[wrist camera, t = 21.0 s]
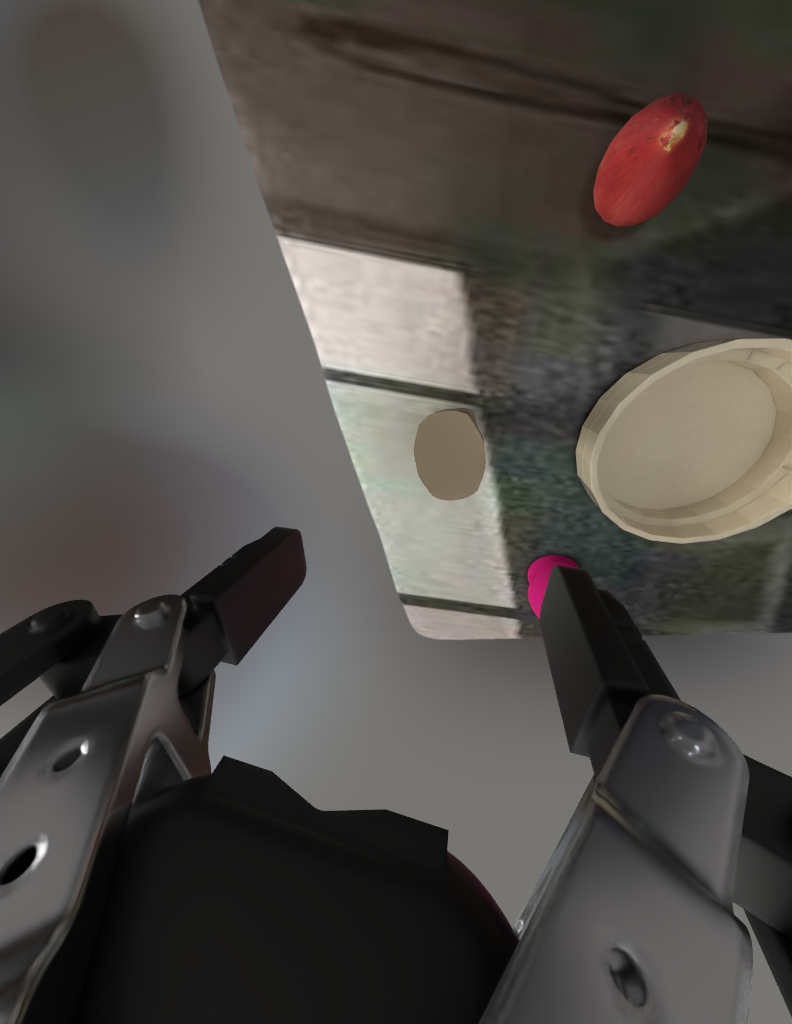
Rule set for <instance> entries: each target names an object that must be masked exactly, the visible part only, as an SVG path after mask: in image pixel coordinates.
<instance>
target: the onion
mask: <svg viewBox="0 0 792 1024" xmlns="http://www.w3.org/2000/svg"><path fill="white" fill-rule="evenodd" d="M707 121H708V117H707V115H706V113H705V111H704V109H703V107H702V105H701V103H700V101H699V100H698V99H696V98H693V97H691V96H688V95H686V94H684V93H681V92H680V93H677V94H673V95H670V96H666V97H663V98H659V99H657V100H655V101H653V102H652V103H651V104H649V105H648V106H646V107H645V108H644V109H642V110H641V111H639V112H638V113H636V114H635V115H634V116H632V117H631V118H630V119H629V121H628V122H627V123H626V124H625V125H624V127H623V128H622V129H621V130H620V131H619V133H618V134H617V135H616V136H615V137H614V139H613V140H612V142H611V143H610V145H609V147H608V149H607V151H606V153H605V155H604V157H603V159H602V161H601V163H600V165H599V168H598V172H597V176H596V181H595V186H594V190H593V194H594V202H595V209H596V210H597V212H598V213H599V215H600V216H601V218H602V219H603V220H604V221H605V222H607V223H610V224H612V225H614V226H616V227H620V226H633V225H636V224H638V223H640V222H643V221H645V220H647V219H649V218H651V217H654V216H656V215H657V214H658V213H659V212H660V211H662V210H663V209H664V208H665V207H666V206H667V205H668V204H669V203H670V202H671V201H672V200H673V199H674V198H675V197H676V196H677V195H678V194H679V193H680V192H681V191H682V189H683V187H684V186H685V184H686V183H687V181H688V180H689V178H690V177H691V175H692V174H693V172H694V171H695V169H696V167H697V165H698V163H699V160H700V157H701V155H702V152H703V149H704V146H705V143H706V139H707Z"/></svg>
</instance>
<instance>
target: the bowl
mask: <svg viewBox="0 0 792 1024" xmlns="http://www.w3.org/2000/svg"><path fill="white" fill-rule="evenodd" d="M576 462H577V474H578V477H579V479H580V480H581V482H582V484H583V486H584V488H585V490H586V492H587V494H588V495H589V496H590V498H591V499H592V500H593V501H594V502H595V504H596V505H597V506H598V507H599V508H600V510H601V511H602V512H603V513H604V514H605V515H606V516H608V517H609V518H610V519H611V520H612V521H613V522H615V523H616V524H617V525H618V526H619V527H620V528H622V529H623V530H626V531H628V532H631V533H633V534H636V535H638V536H641V537H643V538H646V539H648V540H654V541H663V542H672V543H681V544H682V543H693V542H702V541H711V540H718V539H722V538H725V537H729V536H732V535H735V534H738V533H741V532H744V531H748V530H751V529H754V528H756V527H759V526H761V525H762V524H764V523H766V522H768V521H770V520H772V519H773V518H775V517H777V516H779V515H781V514H783V513H784V512H786V511H788V510H790V509H792V340H790V339H786V338H761V339H733V340H723V341H712V342H702V343H696V344H693V345H689V346H686V347H682V348H679V349H675V350H672V351H668V352H665V353H662V354H659V355H658V356H656V357H654V358H652V359H651V360H649V361H647V362H645V363H643V364H642V365H640V366H638V367H636V368H635V369H633V370H631V371H629V372H628V373H627V374H625V375H624V376H623V377H622V378H621V379H620V380H619V381H617V382H616V383H615V384H614V385H613V386H612V387H611V388H610V389H609V390H608V391H607V392H606V393H605V394H604V395H602V396H601V397H600V399H599V400H598V402H597V403H596V405H595V406H594V408H593V410H592V411H591V413H590V414H589V416H588V417H587V419H586V421H585V422H584V424H583V426H582V429H581V433H580V437H579V440H578V444H577V448H576Z"/></svg>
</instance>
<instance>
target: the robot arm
mask: <svg viewBox="0 0 792 1024" xmlns="http://www.w3.org/2000/svg"><path fill="white" fill-rule="evenodd" d="M305 576H306V561H305V555H304V548H303V542H302V537H301V533H300V531H299V530H297V529H290V528H282V527H275V528H273V529H272V530H270V531H269V532H268V533H267V534H265V535H264V536H263V537H262V538H260V539H258V540H256V541H254V542H252V543H250V544H248V545H245V546H244V547H242V548H241V549H240V550H239V551H237V552H236V553H235V554H233V555H232V558H228V559H227V560H226V561H224V562H223V563H222V565H221V566H220V565H219V566H218V567H217V568H215V569H214V570H213V571H212V572H210V573H209V574H208V575H206V576H205V577H204V578H202V579H201V580H200V581H199V582H197V583H196V584H195V585H194V586H192V587H191V588H190V589H188V590H187V591H186V592H184V593H183V594H182V595H181V596H179V595H162V596H158V597H155V598H151V599H148V600H146V601H144V602H142V603H140V604H138V605H136V606H134V607H133V608H131V609H130V610H128V611H127V612H126V613H125V614H123V615H110V616H99V614H98V613H97V611H96V609H95V608H94V606H93V604H92V603H91V602H89V601H87V600H73V601H68V602H64V603H60V604H56V605H54V606H51V607H48V608H46V609H44V610H41V611H40V612H38V613H36V614H34V615H32V616H30V617H28V618H27V619H25V620H23V621H21V622H20V623H18V624H16V625H15V626H13V627H12V628H10V629H8V630H6V631H5V632H3V633H1V634H0V706H1V705H2V704H4V703H5V702H6V701H8V700H9V699H10V698H12V697H13V696H14V695H16V694H17V693H18V692H20V691H21V690H22V689H23V688H25V687H26V686H28V685H29V684H30V683H32V682H33V681H34V680H36V679H37V678H38V677H40V679H41V680H42V681H43V683H44V684H45V685H46V686H47V687H48V689H49V690H50V691H51V692H52V694H53V696H52V697H51V698H50V699H49V700H47V701H46V702H45V703H44V704H42V705H41V706H40V707H39V708H37V709H36V710H35V711H34V712H33V713H31V714H30V715H29V716H28V717H27V718H25V720H23V721H22V722H21V723H19V724H18V725H17V726H16V727H14V728H13V729H12V730H11V731H10V732H8V733H7V734H6V735H5V736H3V737H2V738H1V739H0V1024H748V1014H749V1003H750V991H751V980H752V966H753V952H752V942H751V938H750V934H749V931H748V929H747V927H746V926H745V925H744V924H743V923H742V922H741V921H740V920H739V919H738V918H737V917H736V916H735V915H734V913H733V906H732V901H733V902H734V903H736V904H737V905H739V906H740V907H742V908H743V909H744V911H745V913H746V916H747V918H748V920H749V922H750V925H751V927H752V929H753V931H754V934H755V936H756V938H757V940H758V942H759V945H760V947H761V949H762V951H763V954H764V956H765V958H766V960H767V963H768V965H769V967H770V969H771V971H772V974H773V976H774V978H775V980H776V983H777V985H778V987H779V989H780V992H781V994H782V996H783V998H784V1001H785V1003H786V1005H787V1007H788V1009H789V1012H790V1014H791V1016H792V777H790V776H788V775H786V774H783V773H782V772H779V771H777V770H775V769H773V768H771V767H769V766H766V765H764V764H762V763H760V762H758V761H756V760H754V759H752V758H749V757H748V756H746V755H744V754H742V753H741V751H740V749H739V748H738V746H737V745H736V744H735V742H734V741H733V740H732V739H731V737H730V736H729V735H728V734H727V733H726V732H725V731H724V730H723V729H722V728H721V727H719V726H718V725H717V724H716V723H715V722H714V721H713V720H711V719H710V718H709V717H707V716H706V715H705V714H703V713H701V712H700V711H699V710H697V709H695V708H694V707H692V706H690V705H688V704H686V703H684V702H682V701H681V700H680V698H679V697H678V695H677V693H676V692H675V690H674V688H673V687H672V685H671V683H670V682H669V680H668V679H667V677H666V675H665V673H664V672H663V670H662V668H661V667H660V665H659V664H658V662H657V660H656V658H655V657H654V655H653V653H652V652H651V650H650V648H649V647H648V645H647V644H646V642H645V641H644V640H642V635H641V634H640V632H639V630H638V629H637V627H636V626H634V624H633V623H634V622H633V620H632V619H631V617H630V615H629V614H628V612H627V610H626V609H625V607H624V606H623V605H622V604H621V603H620V602H619V601H618V600H617V599H616V598H614V597H613V596H612V595H611V594H610V593H609V592H608V591H606V590H599V589H597V588H596V587H595V585H594V583H593V581H592V579H591V577H590V575H589V573H588V572H587V570H585V569H581V568H574V567H566V566H559V565H555V566H554V567H553V568H552V570H551V574H550V577H549V580H548V584H547V587H546V591H545V594H544V598H543V601H542V604H541V609H540V627H541V632H542V636H543V640H544V644H545V648H546V653H547V656H548V661H549V665H550V669H551V674H552V678H553V681H554V686H555V690H556V694H557V699H558V703H559V707H560V711H561V716H562V719H563V724H564V728H565V732H566V737H567V741H568V745H569V749H570V752H571V753H575V754H579V755H583V756H587V757H590V760H591V763H592V767H593V770H594V775H593V777H592V779H591V781H590V783H589V785H588V786H587V788H586V790H585V792H584V794H583V796H582V798H581V800H580V802H579V804H578V806H577V807H576V809H575V812H574V813H573V815H572V817H571V819H570V821H569V823H568V825H567V827H566V829H565V831H564V832H563V834H562V836H561V838H560V840H559V842H558V844H557V846H556V848H555V850H554V852H553V854H552V856H551V857H550V859H549V861H548V863H547V865H546V867H545V869H544V870H543V872H542V874H541V876H540V878H539V879H538V881H537V883H536V885H535V887H534V888H533V890H532V892H531V894H530V896H529V898H528V899H527V902H526V903H525V905H524V907H523V909H522V911H521V913H520V915H519V917H518V919H517V920H516V922H515V924H514V926H513V928H512V927H511V925H510V924H509V922H508V920H507V918H506V917H505V915H504V914H503V912H502V911H501V909H500V908H499V906H498V905H497V903H496V902H495V900H494V899H493V897H492V896H491V894H490V893H489V892H488V891H487V889H486V888H485V887H484V886H483V884H482V883H481V882H480V881H479V880H478V878H477V877H476V876H475V875H474V874H473V873H472V872H471V871H470V870H469V869H468V868H467V867H466V866H465V865H464V864H463V863H462V862H461V861H460V860H458V859H457V858H456V857H455V856H453V855H452V854H451V853H449V852H448V851H447V844H448V830H446V829H443V828H440V827H437V826H434V825H431V824H428V823H425V822H422V821H419V820H416V819H413V818H410V817H407V816H404V815H401V814H397V813H395V812H392V811H389V810H349V811H348V810H347V811H321V810H318V809H316V808H314V807H313V806H312V805H311V804H309V803H308V802H307V801H306V800H305V799H304V798H302V797H301V796H300V795H299V794H298V793H297V792H295V791H294V790H293V789H292V788H291V787H290V786H288V785H287V784H286V783H285V782H284V781H282V780H281V779H280V778H279V777H278V776H277V775H275V774H274V773H273V772H272V771H269V770H266V769H262V768H259V767H257V766H254V765H251V764H248V763H245V762H241V761H239V760H236V759H233V758H229V757H226V756H223V758H222V759H221V761H220V762H219V764H218V765H217V767H216V769H215V770H214V772H213V773H212V774H211V765H210V759H209V753H208V741H209V731H210V723H211V714H212V705H213V697H214V688H215V678H216V674H215V671H214V668H215V667H216V666H217V665H218V663H219V662H220V661H221V662H225V663H229V664H233V665H238V664H239V663H240V661H241V660H242V659H243V657H244V656H245V655H246V654H247V652H248V651H249V650H250V649H251V647H252V646H253V645H254V644H255V642H256V641H257V640H258V639H259V637H260V636H261V635H262V634H263V632H264V631H265V630H266V629H267V627H268V626H269V625H270V624H271V622H272V621H273V620H274V619H275V617H276V616H277V615H278V614H279V612H280V611H281V610H282V609H283V607H284V606H285V605H286V604H287V602H288V601H289V600H290V598H291V597H292V596H293V595H294V594H295V592H296V591H297V590H298V589H299V587H300V586H301V585H302V583H303V581H304V579H305Z"/></svg>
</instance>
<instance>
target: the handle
mask: <svg viewBox="0 0 792 1024" xmlns="http://www.w3.org/2000/svg"><path fill="white" fill-rule="evenodd" d="M414 456H415V462H416V467H417V471H418V474H419V477H420V479H421V480H422V482H423V484H424V485H425V486H426V488H427V489H428V490H429V492H430V493H431V494H432V496H434V497H436V498H439V499H442V500H458V499H463V498H466V497H469V496H470V495H472V494H474V493H475V492H476V491H477V490H478V487H479V485H480V483H481V480H482V477H483V474H484V471H485V464H486V461H485V451H484V442H483V436H482V434H481V432H480V431H479V429H478V427H477V423H476V420H475V418H474V416H473V415H472V414H471V413H470V412H469V411H467V409H465V408H462V409H447V410H441V411H438V412H435V413H433V414H431V415H429V416H428V417H427V418H425V419H424V420H423V421H422V422H421V423H420V424H419V428H418V432H417V436H416V440H415V445H414Z"/></svg>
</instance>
